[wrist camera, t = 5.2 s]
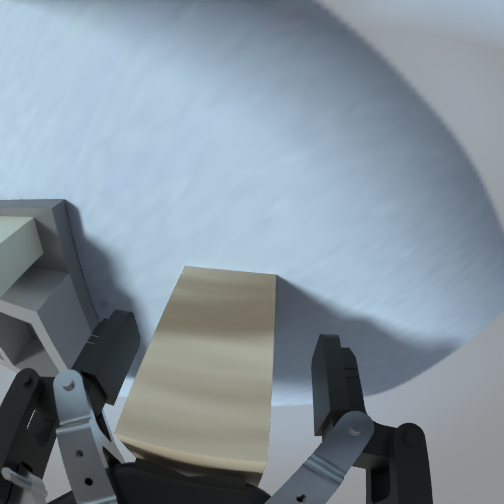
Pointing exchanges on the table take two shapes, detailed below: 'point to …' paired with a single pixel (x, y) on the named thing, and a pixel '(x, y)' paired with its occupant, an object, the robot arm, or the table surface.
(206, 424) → the tan rectangular block
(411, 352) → the table surface
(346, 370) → the robot arm
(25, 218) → the socket block
